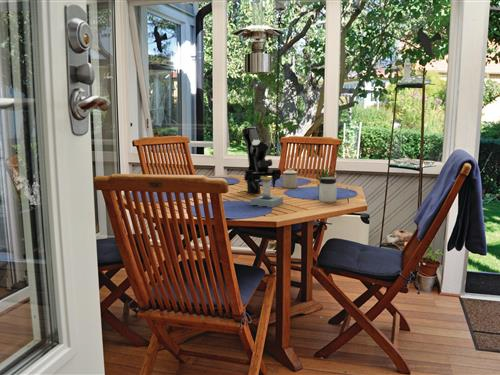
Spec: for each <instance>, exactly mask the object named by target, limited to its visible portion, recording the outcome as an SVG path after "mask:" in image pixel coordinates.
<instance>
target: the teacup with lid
mask: <svg viewBox="0 0 500 375" xmlns="http://www.w3.org/2000/svg"><path fill="white" fill-rule="evenodd" d="M281 177H282V181H281V180H280V179H278V180H277V181H278V183H279V184H282V187H283V188H285V189H296V188H298V171H295V170H294V169H293V168H292V167H289V168H288V169H287V170H285V171H283V172H282V174H281V176H280V178H281Z"/></svg>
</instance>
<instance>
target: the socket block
mask: <svg viewBox="0 0 500 375" xmlns="http://www.w3.org/2000/svg"><path fill="white" fill-rule="evenodd" d="M283 203H284V197H282V196H272V195H271V199H270V200H266V199H263V195H260V196H256V197H254V198H251V199H250V206H252V205H258V206H257V207H262V206H267V207H266V208H274V207H277V206H279V205H283Z"/></svg>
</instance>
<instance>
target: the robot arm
mask: <svg viewBox="0 0 500 375" xmlns="http://www.w3.org/2000/svg"><path fill="white" fill-rule="evenodd" d="M241 137H242V139H243V140H242V141H244V143H245V144H246V150H247V160H248V168H247V169H246V170H245V171H244V176H243V177H244V178H243V179H244V181H245V183H247V186H246V188H247V191H245V192H246V194H253V195H255V194H256V195H257V194H259V193H261V192H262V191H261V184H260V183H262V180H261V176H272V180H271V182H272V183H271V184H272V189H275V187H276V181H278V179H279V180H280V178H281V177H282V176H281V175H282V170H281V169H280V168H275V169H274V168H273V169H272V171H269V167H273V160H272V159H271V158H270V159H266V157H267V154H268V150H269V145H267V144H266V143H264V141H261V140H260V138H259V137H260V136H259V135H258V128H257V127H256V126H248V127H245V128H243V129H241ZM280 176H281V177H280Z"/></svg>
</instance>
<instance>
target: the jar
mask: <svg viewBox="0 0 500 375" xmlns="http://www.w3.org/2000/svg"><path fill="white" fill-rule="evenodd" d="M319 179H320V181H319V182H318V184H319V193H318V200H319V201H320V202H321V203H334V202H337V195H338V194H337V192H338V191H337V190H338V187H337V186H338V185H337V184H338V183H337V177H336V176H335V177H333V176H331V177H322V176H321V178H320V177H319Z"/></svg>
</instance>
